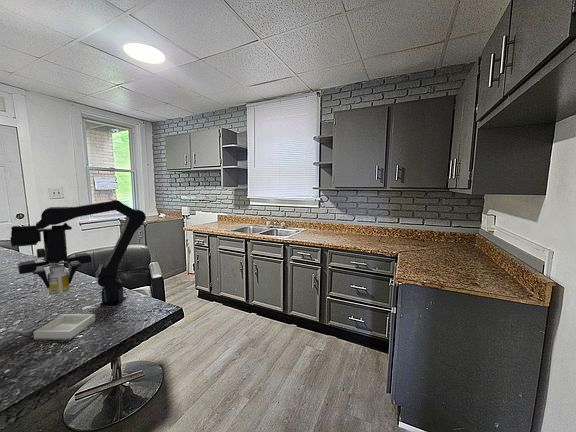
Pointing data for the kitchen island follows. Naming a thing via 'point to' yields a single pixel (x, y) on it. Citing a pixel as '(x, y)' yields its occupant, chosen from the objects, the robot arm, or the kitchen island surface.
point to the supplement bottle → (58, 280)
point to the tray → (65, 326)
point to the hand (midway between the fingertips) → (58, 285)
